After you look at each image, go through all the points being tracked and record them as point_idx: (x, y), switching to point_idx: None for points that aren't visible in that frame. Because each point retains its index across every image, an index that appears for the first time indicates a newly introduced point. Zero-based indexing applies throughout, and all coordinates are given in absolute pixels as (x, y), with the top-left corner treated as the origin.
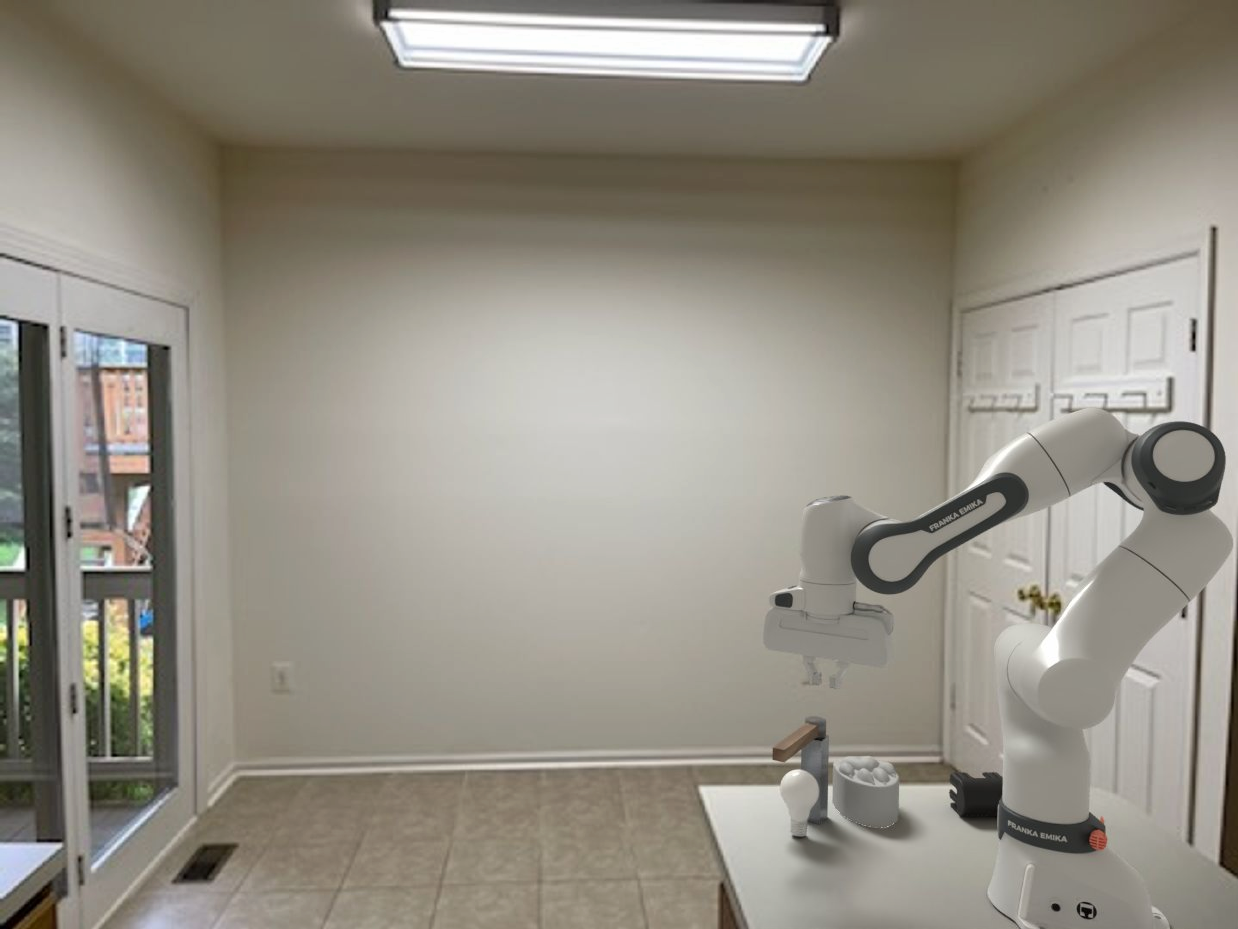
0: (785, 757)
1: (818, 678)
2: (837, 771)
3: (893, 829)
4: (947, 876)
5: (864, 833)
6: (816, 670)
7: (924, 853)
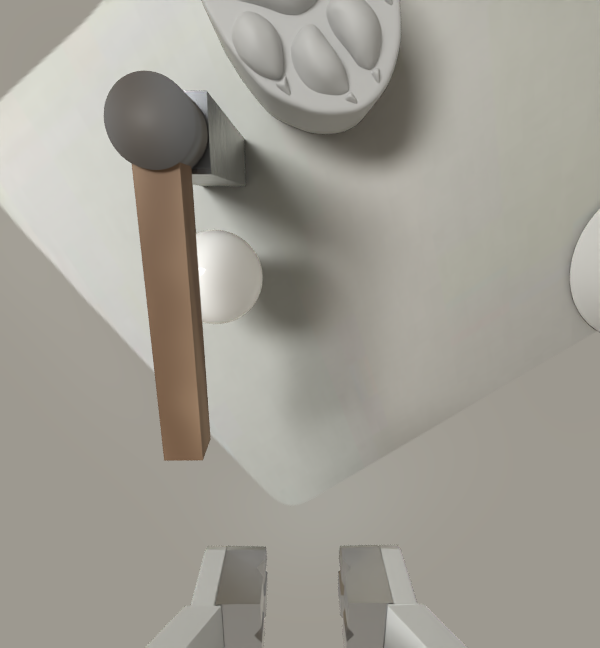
0: (207, 438)
1: (263, 631)
2: (233, 54)
3: (381, 111)
4: (503, 252)
5: (334, 169)
6: (214, 617)
7: (455, 186)
